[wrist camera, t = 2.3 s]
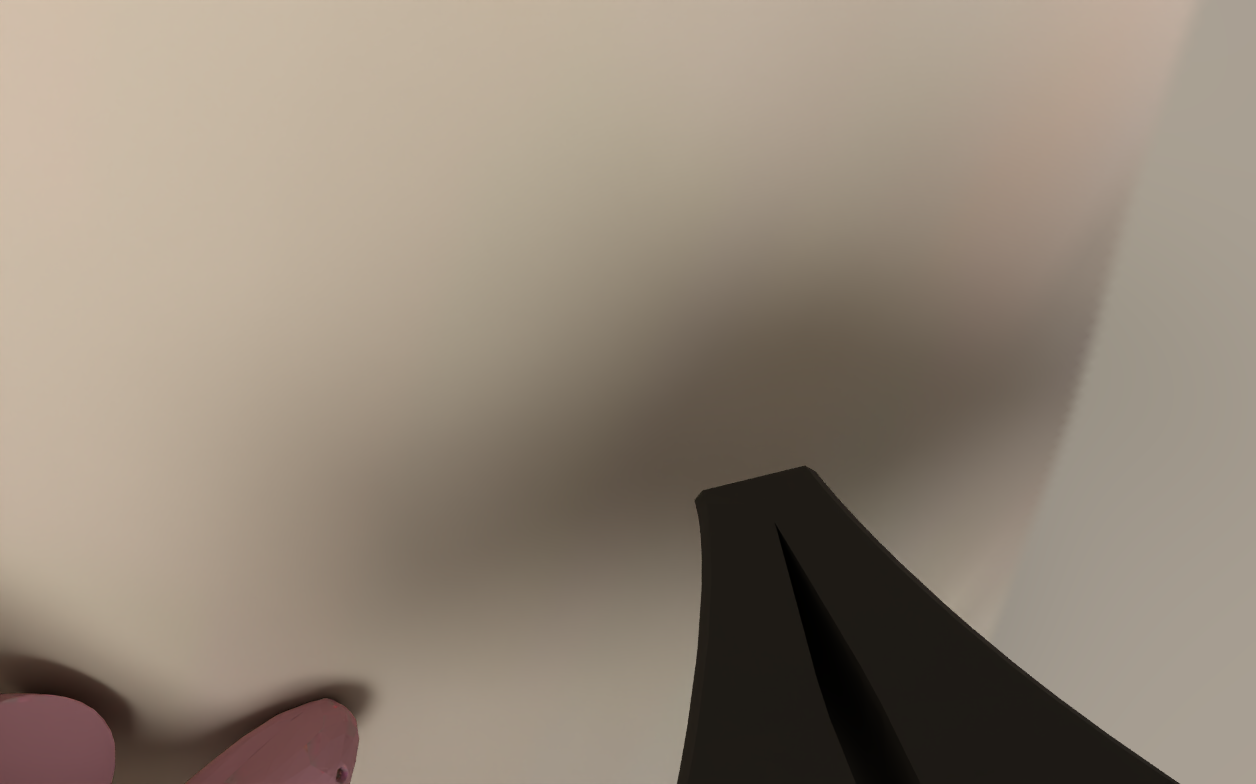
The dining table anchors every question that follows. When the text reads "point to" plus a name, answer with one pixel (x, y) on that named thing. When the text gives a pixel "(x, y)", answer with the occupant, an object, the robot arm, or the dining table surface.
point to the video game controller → (235, 780)
